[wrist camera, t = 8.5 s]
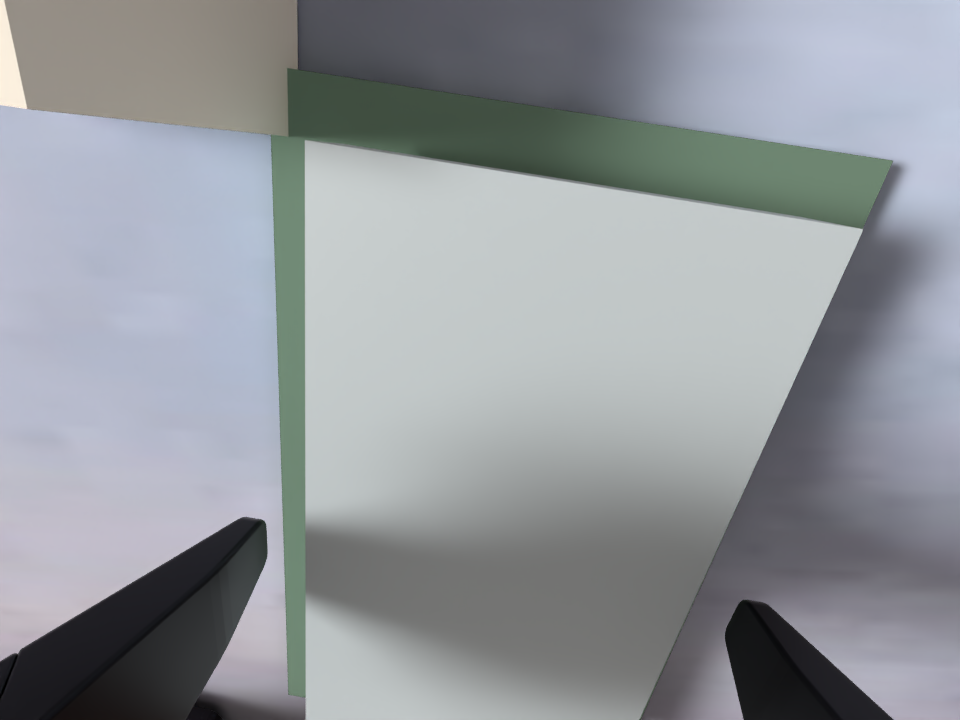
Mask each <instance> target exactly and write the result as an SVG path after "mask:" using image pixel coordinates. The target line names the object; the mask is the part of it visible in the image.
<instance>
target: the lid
mask: <svg viewBox="0 0 960 720" xmlns="http://www.w3.org/2000/svg"><path fill="white" fill-rule="evenodd" d="M862 232H863V229H860V228H854V227H849V226H844V225H839V224H834V223H829V222H824V221H819V220H814V219H809V218H804V217H798V216H792V215H786V214H780V213H773V212H767V211H761V210H755V209H748V208H742V207H736V206H730V205H723V204H717V203H711V202H704V201H698V200H692V199H686V198H679V197H673V196H667V195H661V194H654V193H648V192H642V191H636V190H629V189H623V188H617V187H611V186H604V185H598V184H592V183H585V182H579V181H573V180H567V179H560V178H554V177H548V176H542V175H535V174H529V173H523V172H517V171H510V170H504V169H498V168H492V167H485V166H479V165H473V164H466V163H460V162H454V161H448V160H441V159H435V158H429V157H423V156H416V155H410V154H404V153H398V152H391V151H385V150H379V149H373V148H366V147H360V146H354V145H347V144H340V143H330V142H320V141H309V140H305V582H306V720H639V719H640V717H641V715H642V712H643V710H644V708H645V706H646V704H647V701H648V699H649V697H650V695H651V693H652V691H653V688H654V686H655V684H656V682H657V680H658V677H659V675H660V673H661V671H662V669H663V667H664V664H665V662H666V660H667V658H668V656H669V653H670V651H671V649H672V647H673V645H674V642H675V640H676V638H677V636H678V634H679V632H680V629H681V627H682V625H683V623H684V621H685V618H686V616H687V614H688V612H689V610H690V608H691V605H692V603H693V601H694V599H695V597H696V594H697V592H698V590H699V588H700V586H701V583H702V581H703V579H704V577H705V575H706V573H707V570H708V568H709V566H710V564H711V562H712V559H713V557H714V555H715V553H716V551H717V549H718V546H719V544H720V542H721V540H722V538H723V535H724V533H725V531H726V529H727V527H728V524H729V522H730V520H731V518H732V516H733V514H734V511H735V509H736V507H737V505H738V503H739V500H740V498H741V496H742V494H743V492H744V489H745V487H746V485H747V483H748V481H749V479H750V476H751V474H752V472H753V470H754V468H755V465H756V463H757V461H758V459H759V457H760V455H761V452H762V450H763V448H764V446H765V444H766V441H767V439H768V437H769V435H770V433H771V430H772V428H773V426H774V424H775V422H776V420H777V417H778V415H779V413H780V411H781V409H782V406H783V404H784V402H785V400H786V398H787V396H788V393H789V391H790V389H791V387H792V385H793V382H794V380H795V378H796V376H797V374H798V371H799V369H800V367H801V365H802V363H803V361H804V358H805V356H806V354H807V352H808V350H809V347H810V345H811V343H812V341H813V339H814V337H815V334H816V332H817V330H818V328H819V326H820V323H821V321H822V319H823V317H824V315H825V312H826V310H827V308H828V306H829V304H830V302H831V299H832V297H833V295H834V293H835V291H836V288H837V286H838V284H839V282H840V280H841V277H842V275H843V273H844V271H845V269H846V267H847V264H848V262H849V260H850V258H851V256H852V253H853V251H854V249H855V247H856V245H857V243H858V240H859V238H860V236H861V234H862Z"/></svg>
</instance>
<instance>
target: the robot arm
mask: <svg viewBox="0 0 960 720" xmlns="http://www.w3.org/2000/svg"><path fill="white" fill-rule="evenodd" d="M266 559H267V531H266V523H265V522H264V521H263V520H261V519H255V518H249V517H242V518H240V519H238V520H236V521H234V522H233V523H231V524H229V525H228V526H226V527H224V528H223V529H221V530H219V531H218V532H216V533H214V534H213V535H211V536H209V537H208V538H206V539H204V540H203V541H201V542H199V543H198V544H196V545H194V546H193V547H191V548H189V549H188V550H186V551H184V552H183V553H181V554H179V555H178V556H176V557H174V558H173V559H171V560H169V561H168V562H166V563H164V564H162V565H161V566H159V567H157V568H156V569H154V570H152V571H151V572H149V573H147V574H146V575H144V576H142V577H141V578H139V579H137V580H136V581H134V582H132V583H131V584H129V585H127V586H126V587H124V588H122V589H121V590H119V591H117V592H116V593H114V594H112V595H111V596H109V597H107V598H106V599H104V600H102V601H101V602H99V603H97V604H96V605H94V606H92V607H91V608H89V609H87V610H86V611H84V612H82V613H81V614H79V615H77V616H76V617H74V618H72V619H71V620H69V621H67V622H66V623H64V624H62V625H61V626H59V627H57V628H56V629H54V630H52V631H51V632H49V633H47V634H46V635H44V636H42V637H40V638H39V639H37V640H35V641H34V642H32V643H30V644H29V645H27V646H25V647H24V648H22V649H21V650H20V651H19V653H18V654H17V653H14V654H12V655H10V656H8V657H7V658H5V659H3V660H2V661H0V720H222V718H221V716H220V715H219V714H218V713H216V712H214V711H212V710H209V709H205V708H199V707H193V706H194V704H195V702H196V701H197V699H198V697H199V695H200V694H201V692H202V690H203V689H204V687H205V685H206V683H207V682H208V680H209V678H210V676H211V675H212V673H213V671H214V669H215V668H216V666H217V664H218V663H219V661H220V659H221V657H222V655H223V653H224V652H225V650H226V648H227V646H228V644H229V642H230V640H231V638H232V636H233V634H234V631H235V629H236V627H237V625H238V623H239V620H240V618H241V616H242V614H243V612H244V609H245V607H246V605H247V603H248V601H249V598H250V596H251V594H252V592H253V590H254V587H255V585H256V583H257V581H258V579H259V576H260V574H261V572H262V570H263V568H264V565H265V562H266ZM725 641H726V646H727V651H728V655H729V659H730V663H731V668H732V672H733V676H734V680H735V684H736V689H737V693H738V697H739V701H740V706H741V710H742V714H743V718H744V720H893V719H892V718H891V717H890V716H889V715H888V714H887V713H886V712H885V711H883V710H882V709H881V708H880V707H879V706H878V705H877V704H876V703H875V702H874V701H873V700H871V699H870V698H869V697H868V696H867V695H866V694H865V693H864V692H863V691H862V690H861V689H859V688H858V687H857V686H856V685H855V684H854V683H853V682H852V681H851V680H850V679H849V678H847V677H846V676H845V675H844V674H843V673H842V672H841V671H840V670H839V669H838V668H837V667H835V666H834V665H833V664H832V663H831V662H830V661H829V660H828V659H827V658H826V657H825V656H823V655H822V654H821V653H820V652H819V651H818V650H817V649H816V648H815V647H814V646H813V645H812V644H810V643H809V642H808V641H807V640H806V639H805V638H804V637H803V636H802V635H801V634H800V633H798V632H797V631H796V630H795V629H794V628H793V627H792V626H791V625H790V624H789V623H788V622H786V621H785V620H784V619H783V618H782V617H781V616H780V615H779V614H778V613H777V612H776V611H774V610H773V609H772V608H771V607H770V606H769V605H767V604H765V603H763V602H757V601H751V600H742V601H741V602H740V603H739V604H738V606H737V608H736V610H735V612H734V614H733V616H732V618H731V620H730V622H729V624H728V626H727V628H726V632H725Z"/></svg>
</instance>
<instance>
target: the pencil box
mask: <svg viewBox="0 0 960 720" xmlns="http://www.w3.org/2000/svg"><path fill="white" fill-rule="evenodd" d="M287 68H290V69H297V70H298V32H297V0H0V105H4V106H11V107H17V108H24V109H32V110H41V111H51V112H60V113H69V114H79V115H88V116H98V117H107V118H117V119H126V120H136V121H145V122H155V123H164V124H174V125H183V126H193V127H202V128H212V129H221V130H230V131H240V132H249V133H259V134H268V135H278V136H287V137H288V84H287Z"/></svg>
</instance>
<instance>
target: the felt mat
mask: <svg viewBox="0 0 960 720" xmlns="http://www.w3.org/2000/svg"><path fill="white" fill-rule="evenodd" d="M287 84H288V137H287V136H278V135H271V152H272V184H273V216H274V248H275V280H276V312H277V344H278V376H279V408H280V440H281V472H282V503H283V535H284V567H285V599H286V631H287V663H288V695H293V696H299V697H305V698H306V582H305V140H309V141H320V142H330V143H340V144H347V145H354V146H360V147H366V148H373V149H379V150H385V151H391V152H398V153H404V154H410V155H416V156H423V157H429V158H435V159H441V160H448V161H454V162H460V163H466V164H473V165H479V166H485V167H492V168H498V169H504V170H510V171H517V172H523V173H529V174H535V175H542V176H548V177H554V178H560V179H567V180H573V181H579V182H585V183H592V184H598V185H604V186H611V187H617V188H623V189H629V190H636V191H642V192H648V193H654V194H661V195H667V196H673V197H679V198H686V199H692V200H698V201H704V202H711V203H717V204H723V205H730V206H736V207H742V208H748V209H755V210H761V211H767V212H773V213H780V214H786V215H792V216H798V217H804V218H809V219H814V220H819V221H824V222H829V223H834V224H839V225H844V226H849V227H854V228H860V229H863V227H864V224H865V222H866V220H867V218H868V216H869V213H870V211H871V209H872V207H873V204H874V202H875V200H876V198H877V196H878V193H879V191H880V189H881V187H882V185H883V182H884V180H885V178H886V176H887V173H888V171H889V169H890V167H891V165H892V162H893V161H891V160H885V159H878V158H872V157H865V156H858V155H852V154H845V153H839V152H832V151H826V150H819V149H813V148H806V147H800V146H793V145H787V144H780V143H774V142H767V141H760V140H754V139H747V138H741V137H734V136H728V135H721V134H715V133H708V132H702V131H695V130H689V129H682V128H676V127H669V126H662V125H656V124H649V123H643V122H636V121H630V120H623V119H617V118H610V117H604V116H597V115H591V114H584V113H578V112H571V111H564V110H558V109H551V108H545V107H538V106H532V105H525V104H519V103H512V102H506V101H499V100H493V99H486V98H480V97H473V96H466V95H460V94H453V93H447V92H440V91H434V90H427V89H421V88H414V87H408V86H401V85H395V84H388V83H382V82H375V81H368V80H362V79H355V78H349V77H342V76H336V75H329V74H323V73H316V72H310V71H303V70H297V69H290V68H287ZM755 466H756V465H755ZM750 477H751V476H750ZM746 486H747V485H746ZM745 488H746V487H745ZM744 490H745V489H744ZM741 497H742V496H741ZM740 499H741V498H740ZM739 501H740V500H739ZM736 508H737V507H736ZM735 510H736V509H735ZM734 512H735V511H734ZM732 517H733V516H732ZM731 519H732V518H731ZM730 521H731V520H730ZM729 523H730V522H729ZM728 525H729V524H728ZM727 528H728V527H727ZM726 530H727V529H726ZM725 532H726V531H725ZM724 534H725V533H724ZM723 536H724V535H723ZM722 539H723V538H722ZM721 541H722V540H721ZM720 543H721V542H720ZM719 545H720V544H719ZM718 548H719V546H718ZM717 550H718V549H717ZM716 552H717V551H716ZM715 554H716V553H715ZM714 556H715V555H714ZM713 559H714V557H713ZM713 559H712V561H713ZM711 563H712V562H711ZM710 565H711V564H710ZM709 567H710V566H709ZM708 570H709V568H708ZM708 570H707V572H708ZM706 574H707V573H706ZM705 576H706V575H705ZM704 578H705V577H704ZM703 581H704V579H703ZM703 581H702V583H703ZM702 583H701V585H702ZM700 587H701V586H700ZM699 590H700V588H699ZM699 590H698V592H699ZM698 592H697V594H698ZM697 594H696V596H697ZM695 598H696V597H695ZM694 601H695V599H694ZM694 601H693V603H694ZM693 603H692V605H693ZM692 605H691V607H692ZM690 609H691V608H690ZM689 612H690V610H689ZM689 612H688V614H689ZM688 614H687V616H688ZM687 616H686V618H687ZM686 618H685V621H686ZM685 621H684V623H685ZM684 623H683V625H684ZM683 625H682V627H683ZM682 627H681V629H682ZM681 629H680V632H681ZM680 632H679V634H680ZM679 634H678V636H679ZM678 636H677V638H678ZM677 638H676V640H677ZM676 640H675V642H674V645H675V643H676ZM674 645H673V647H674ZM673 647H672V649H673ZM672 649H671V651H670V653H669V656H670V654H671V652H672ZM669 656H668V658H669ZM668 658H667V660H668ZM667 660H666V662H665V664H664V667H665V665H666V663H667ZM664 667H663V669H664ZM663 669H662V671H663ZM662 671H661V673H660V675H659V677H658V680H659V678H660V676H661V674H662ZM658 680H657V682H656V684H655V686H654V688H653V691H654V689H655V687H656V685H657V683H658ZM653 691H652V693H651V695H650V697H649V699H648V701H647V704H646V706H645V708H644V710H643V712H642V715H641V717H640V719H639V720H641V718H642V716H643V713H644V711H645V709H646V707H647V705H648V702H649V700H650V698H651V696H652V694H653Z"/></svg>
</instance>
